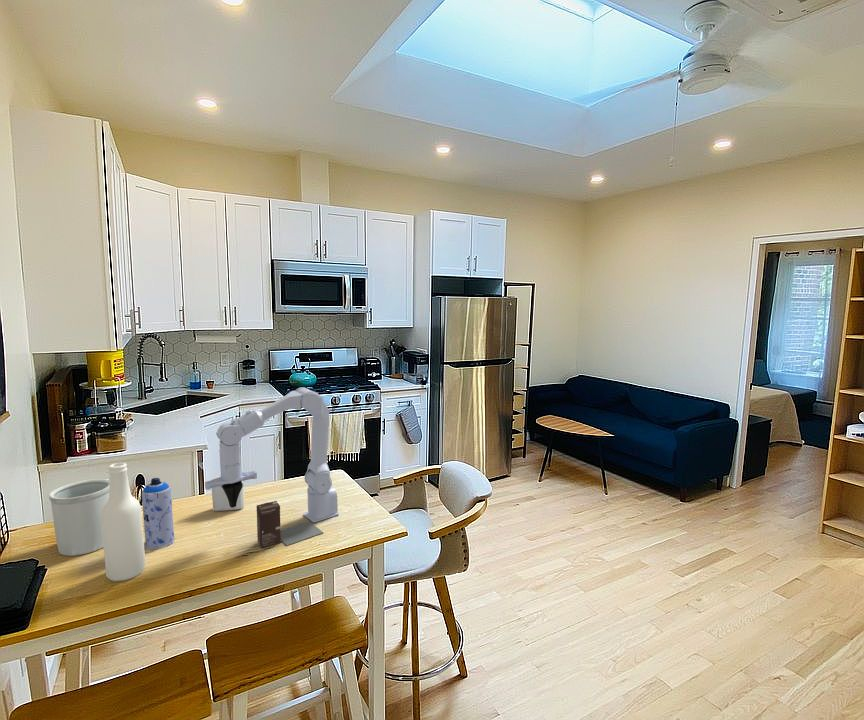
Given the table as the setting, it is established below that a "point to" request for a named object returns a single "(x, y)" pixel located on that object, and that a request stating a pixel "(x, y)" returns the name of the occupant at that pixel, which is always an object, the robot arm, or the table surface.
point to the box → (268, 524)
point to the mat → (299, 533)
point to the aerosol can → (157, 515)
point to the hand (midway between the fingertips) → (232, 506)
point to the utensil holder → (79, 516)
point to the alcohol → (122, 528)
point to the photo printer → (225, 499)
